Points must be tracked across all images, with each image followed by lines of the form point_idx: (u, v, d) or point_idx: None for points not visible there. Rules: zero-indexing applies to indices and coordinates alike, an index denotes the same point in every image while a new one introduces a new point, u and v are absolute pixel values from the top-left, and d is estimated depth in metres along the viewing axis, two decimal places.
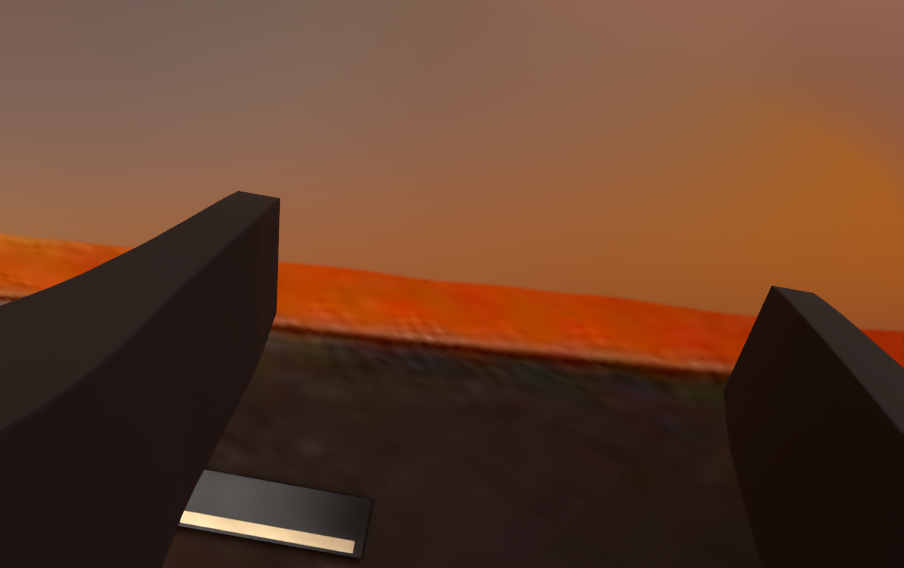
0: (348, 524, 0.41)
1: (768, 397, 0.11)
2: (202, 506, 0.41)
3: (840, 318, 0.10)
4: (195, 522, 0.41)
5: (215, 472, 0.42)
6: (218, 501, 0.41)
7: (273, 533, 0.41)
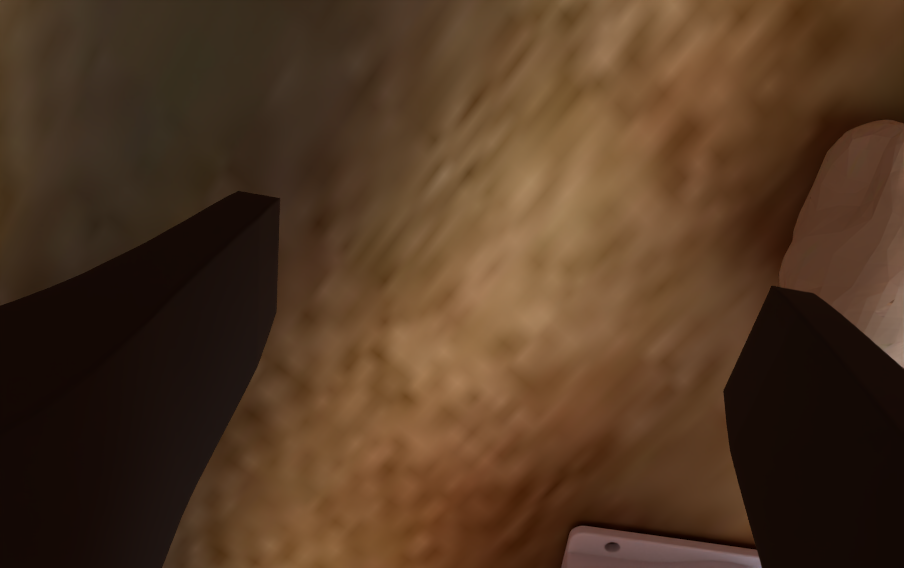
0: None
1: (768, 397, 0.11)
2: None
3: (840, 318, 0.10)
4: None
5: None
6: None
7: None
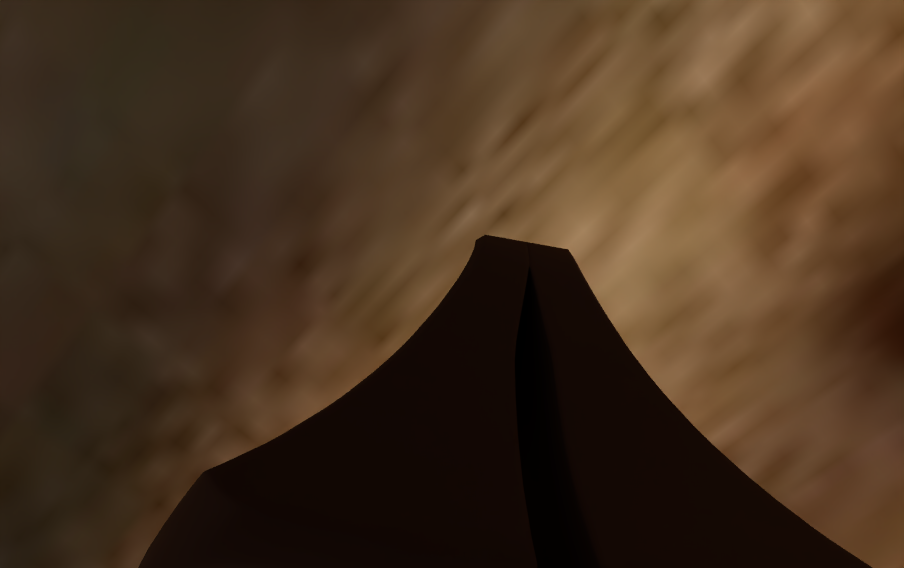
0: None
1: None
2: None
3: (572, 270, 0.10)
4: None
5: None
6: None
7: None
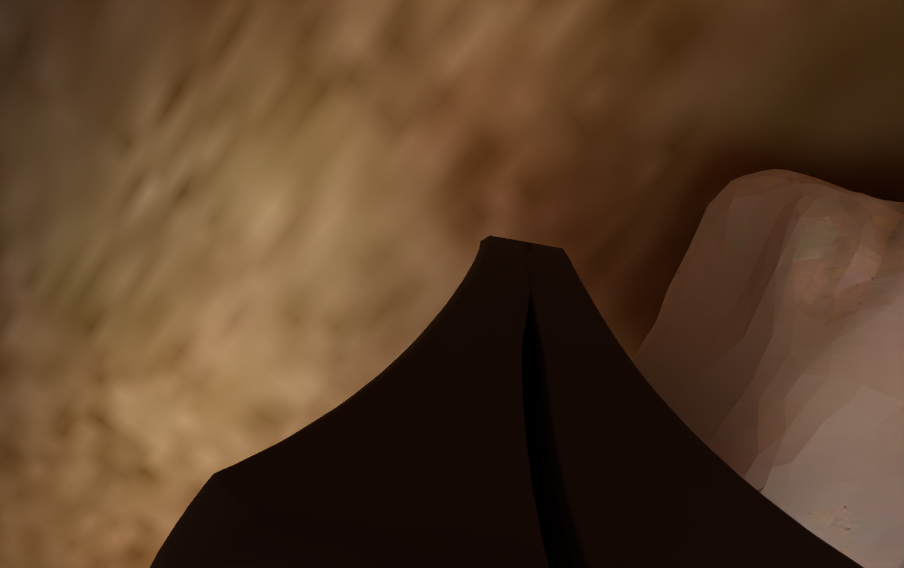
0: None
1: None
2: None
3: (567, 269, 0.10)
4: None
5: None
6: None
7: None
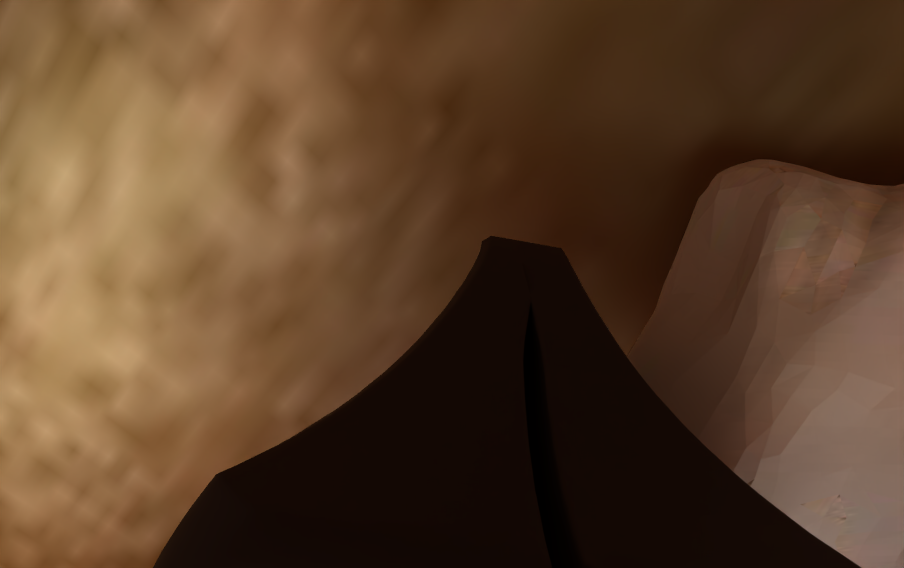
0: None
1: None
2: None
3: (565, 269, 0.10)
4: None
5: None
6: None
7: None
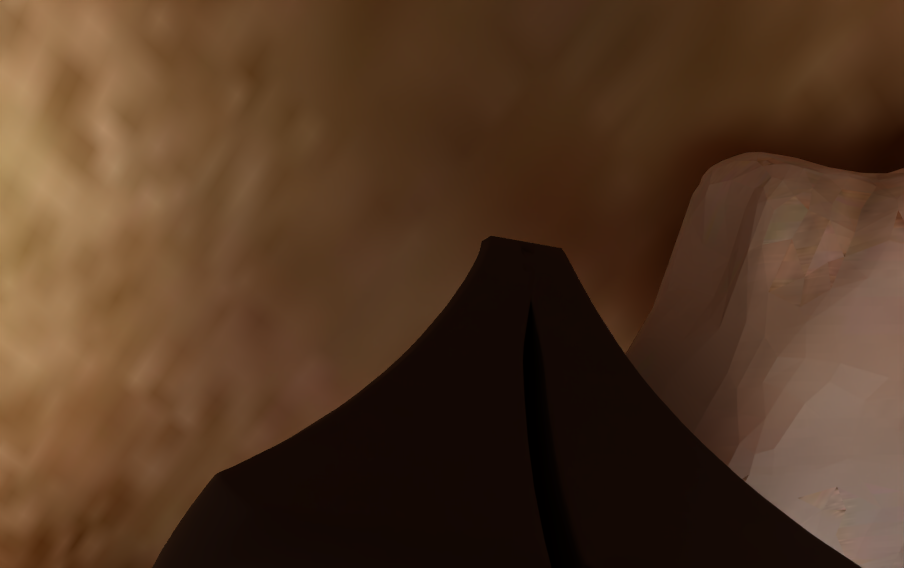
0: None
1: None
2: None
3: (565, 269, 0.10)
4: None
5: None
6: None
7: None
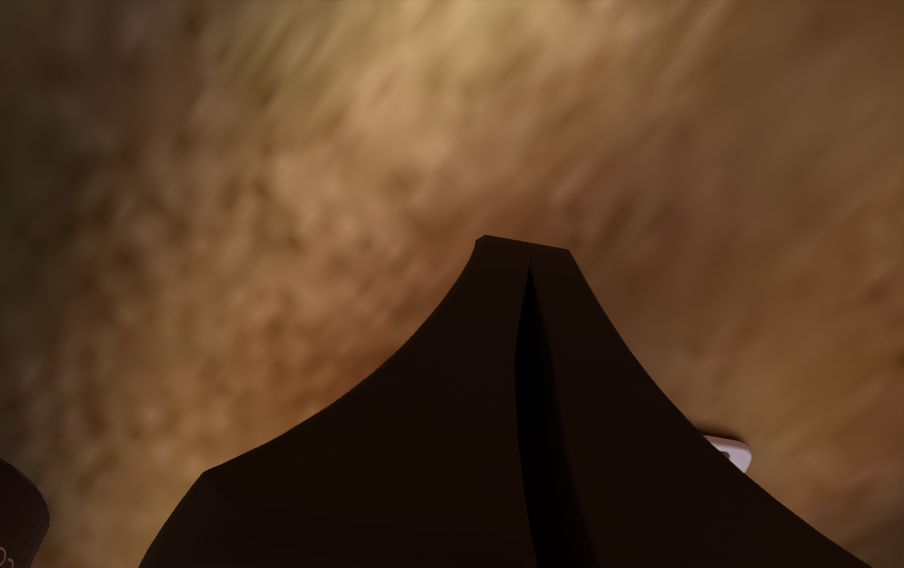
0: None
1: None
2: None
3: (572, 270, 0.10)
4: None
5: None
6: None
7: None
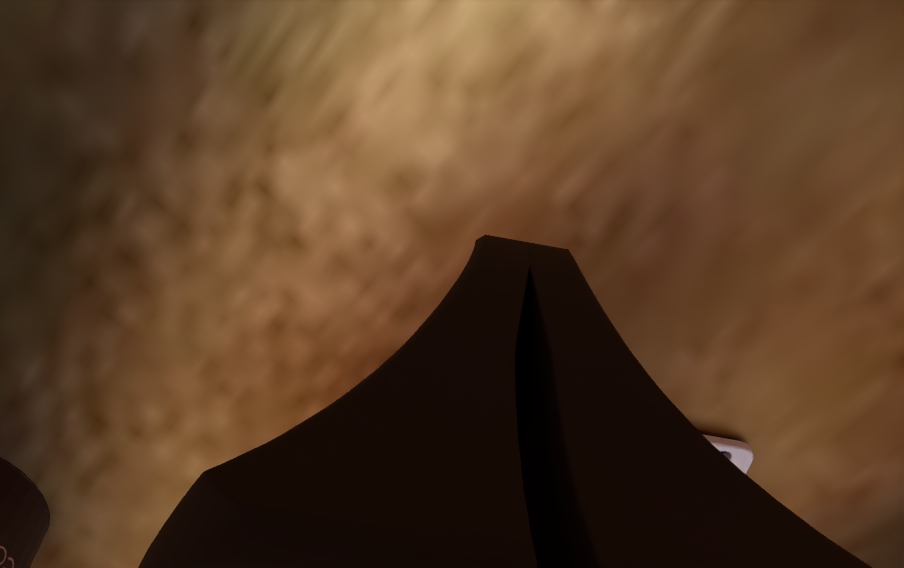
0: None
1: None
2: None
3: (572, 270, 0.10)
4: None
5: None
6: None
7: None
